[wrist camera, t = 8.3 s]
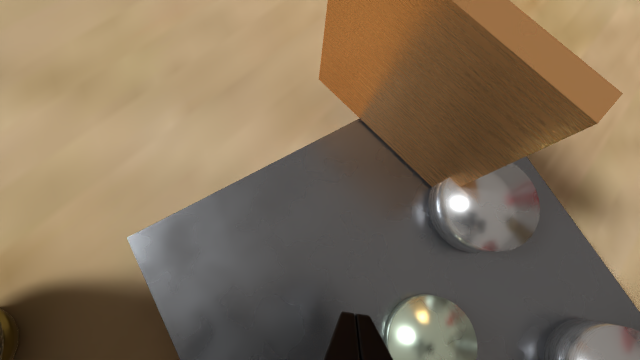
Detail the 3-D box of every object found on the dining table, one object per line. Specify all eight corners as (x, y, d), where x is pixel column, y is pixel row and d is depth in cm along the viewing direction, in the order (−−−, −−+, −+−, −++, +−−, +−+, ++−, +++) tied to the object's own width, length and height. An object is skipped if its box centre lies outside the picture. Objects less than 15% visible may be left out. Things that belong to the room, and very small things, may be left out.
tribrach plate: (669, 389, 17) (763, 422, 13) (335, 674, 13) (348, 817, 10) (449, 80, 20) (479, 44, 17) (141, 239, 17) (102, 234, 13)
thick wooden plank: (528, 209, 17) (777, 154, 8) (476, 271, 16) (695, 283, 7) (354, 49, 18) (404, -141, 10) (297, 96, 17) (297, -67, 9)
